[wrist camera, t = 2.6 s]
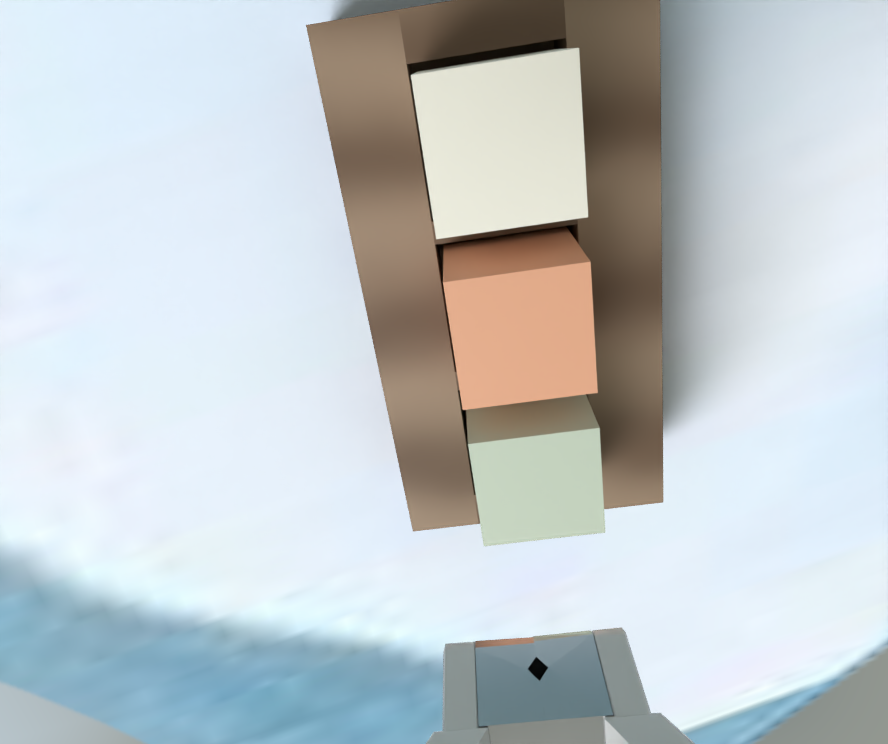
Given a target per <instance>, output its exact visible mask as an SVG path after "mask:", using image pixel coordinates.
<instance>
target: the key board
mask: <svg viewBox="0 0 888 744" xmlns="http://www.w3.org/2000/svg"><path fill="white" fill-rule="evenodd" d="M306 27H307V32H308V36H309V41H310V46H311V51H312V55H313V60H314V65H315V70H316V74H317V79H318V84H319V89H320V93H321V98H322V103H323V107H324V112H325V117H326V122H327V126H328V131H329V136H330V141H331V145H332V150H333V155H334V160H335V164H336V169H337V174H338V178H339V183H340V188H341V193H342V197H343V202H344V207H345V212H346V216H347V221H348V226H349V230H350V235H351V240H352V245H353V249H354V254H355V259H356V264H357V268H358V273H359V278H360V283H361V287H362V292H363V297H364V301H365V306H366V311H367V316H368V320H369V325H370V330H371V335H372V339H373V344H374V349H375V354H376V358H377V363H378V368H379V372H380V377H381V382H382V387H383V391H384V396H385V401H386V406H387V410H388V415H389V420H390V425H391V429H392V434H393V439H394V443H395V448H396V453H397V458H398V462H399V467H400V472H401V477H402V481H403V486H404V491H405V495H406V500H407V505H408V510H409V514H410V519H411V524H412V529H413V531H420V530H429V529H437V528H446V527H455V526H463V525H472V524H480V518H479V512H478V505H477V499H476V492H475V486H474V479H473V473H472V467H471V460H470V454H469V447H468V434H467V416H466V410H463V409H462V402H461V396H460V389H459V383H458V376H457V370H456V363H455V357H454V351H453V344H452V338H451V331H450V325H449V318H448V312H447V306H446V299H445V293H444V286H443V250H444V244H450V243H457V242H464V241H471V240H478V239H485V238H491V237H498V236H505V235H512V234H519V233H526V232H533V231H540V230H547V229H553V228H560V227H567V228H568V230H569V231H570V233H571V234H572V236H573V237H574V238H575V240H576V241H577V243H578V244H579V246H580V247H581V248H582V250H583V251H584V253H585V254H586V256H587V257H588V259H589V260H590V261H591V278H592V296H593V315H594V333H595V352H596V370H597V389H598V393H593V394H586V396H587V398H588V401H589V403H590V406H591V408H592V410H593V413H594V415H595V418H596V420H597V423H598V425H599V428H600V444H601V463H602V481H603V500H604V509H610V508H618V507H627V506H635V505H644V504H653V503H661V502H663V388H662V234H661V79H660V0H451V1H445V2H440V3H434V4H428V5H422V6H416V7H410V8H404V9H398V10H393V11H387V12H381V13H375V14H369V15H363V16H357V17H351V18H345V19H340V20H334V21H328V22H322V23H316V24H310V25H306ZM565 48H579V56H580V75H581V93H582V112H583V130H584V149H585V167H586V185H587V204H588V217H586V218H579V219H572V220H565V221H559V222H552V223H545V224H538V225H531V226H524V227H517V228H511V229H504V230H497V231H490V232H483V233H476V234H469V235H463V236H456V237H449V238H442V239H436V235H435V228H434V222H433V215H432V209H431V202H430V196H429V190H428V183H427V177H426V170H425V164H424V157H423V151H422V145H421V138H420V132H419V125H418V119H417V112H416V106H415V99H414V93H413V87H412V80H411V75H412V74H414V73H416V72H417V71H423V70H429V69H435V68H441V67H448V66H454V65H460V64H466V63H472V62H478V61H484V60H490V59H497V58H503V57H509V56H515V55H521V54H527V53H533V52H539V51H545V50H552V49H565Z"/></svg>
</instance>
